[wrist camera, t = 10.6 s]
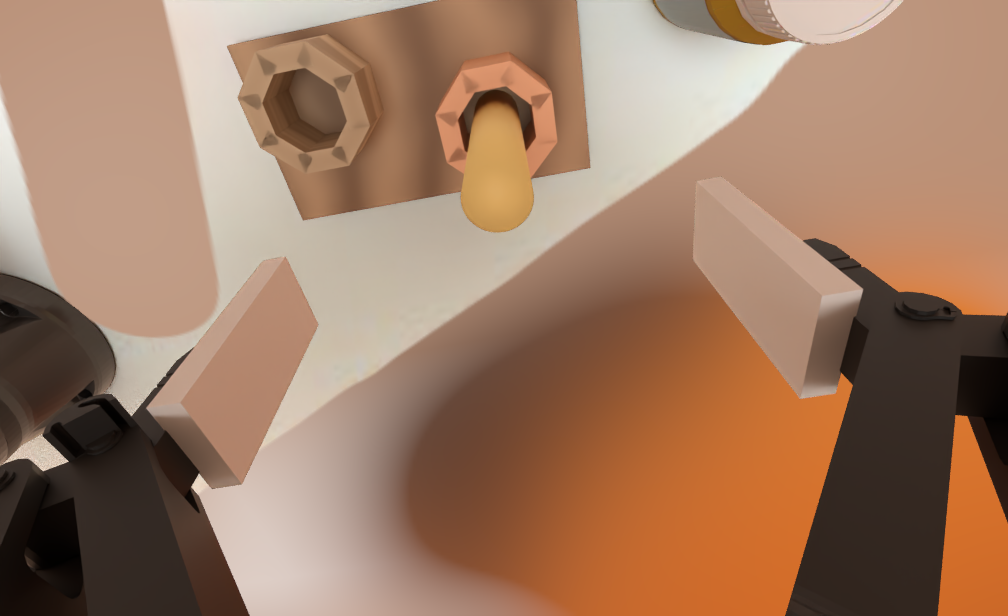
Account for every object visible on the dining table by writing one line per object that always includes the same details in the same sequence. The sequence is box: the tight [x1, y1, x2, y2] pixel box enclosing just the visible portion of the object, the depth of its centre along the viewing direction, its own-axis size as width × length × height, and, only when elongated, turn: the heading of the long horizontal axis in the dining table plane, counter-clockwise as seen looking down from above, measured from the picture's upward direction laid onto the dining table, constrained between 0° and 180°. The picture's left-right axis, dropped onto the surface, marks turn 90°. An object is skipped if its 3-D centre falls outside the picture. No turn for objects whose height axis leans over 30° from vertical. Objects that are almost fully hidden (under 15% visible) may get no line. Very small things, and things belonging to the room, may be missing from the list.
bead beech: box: [238, 34, 384, 174], centre depth 31 cm, size 7×7×4 cm
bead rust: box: [435, 52, 557, 177], centre depth 32 cm, size 7×7×4 cm
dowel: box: [461, 90, 534, 232], centre depth 27 cm, size 3×3×16 cm
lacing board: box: [227, 0, 590, 220], centre depth 34 cm, size 22×12×1 cm, turn 100°
